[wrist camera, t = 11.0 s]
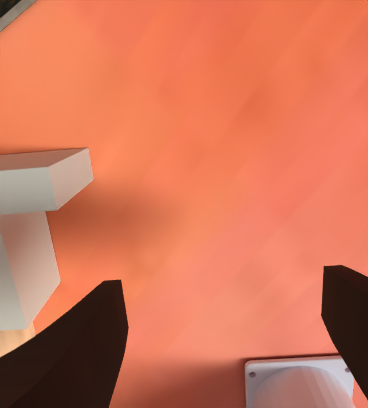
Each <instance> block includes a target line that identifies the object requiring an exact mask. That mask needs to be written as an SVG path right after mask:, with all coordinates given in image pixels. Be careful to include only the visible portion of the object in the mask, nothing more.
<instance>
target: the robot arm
mask: <svg viewBox="0 0 368 408" xmlns="http://www.w3.org/2000/svg"><path fill="white" fill-rule="evenodd" d="M321 316H322V319H323V321H324V324H325V326H326V328H327V331H328V333H329V335H330V337H331V340H332V342H333V343H334V345H335V347H336V349H337V350H338V352H339V354H340V355H341V356H323V357H305V358H287V359H269V360H251V361H248V362H246V364H245V391H246V408H355V406H354V404H353V402H352V395H353V384H354V378H355V380H356V382H357V383H358V385H359V387H360V388H361V390H362V392H363V393H364V395H365V396H366V398H367V400H368V277H367V276H365V275H363V274H361V273H358V272H356V271H354V270H352V269H350V268H348V267H345V266H343V265H336V266H324V273H323V293H322V312H321ZM128 328H129V327H128V321H127V315H126V308H125V302H124V296H123V289H122V283H121V280H108V281H103V282H102V283H101V284H99V285H98V286H97V287H96V288H95V289H93V290H92V291H91V292H90V293H89V294H88V295H87V296H85V297H84V298H83V299H82V300H81V301H80V302H78V303H77V304H76V305H75V306H74V307H72V308H71V309H70V310H69V311H68V312H66V313H65V314H64V315H63V316H61V317H60V318H59V319H57V320H56V321H55V322H54V323H52V324H51V325H50V326H48V327H47V328H46V329H44V330H43V331H42V332H40V333H39V334H37V335H36V336H34V337H33V338H31V339H30V340H28V341H27V342H25V343H24V344H22V345H20V346H19V347H17V348H16V349H14V350H12V351H10V352H9V353H7V354H5V355H3V356H1V357H0V408H109V405H110V401H111V398H112V395H113V391H114V388H115V385H116V381H117V378H118V374H119V371H120V368H121V364H122V361H123V357H124V353H125V348H126V342H127V335H128ZM346 367H348V368H346ZM251 372H254V373H252V374H251Z"/></svg>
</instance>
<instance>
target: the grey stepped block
mask: <svg viewBox="0 0 368 408" xmlns="http://www.w3.org/2000/svg"><path fill="white" fill-rule="evenodd" d="M93 180H94V178H93V172H92V166H91V160H90V154H89V149H88V148H79V149H67V150H55V151H43V152H30V153H18V154H6V155H0V331H4V330H21V329H27V328H28V327H29V326H30V324H31V323H32V321H33V320H34V319H35V317H36V316H37V314H38V313H39V311H40V310H41V309H42V307H43V306H44V304H45V303H46V302H47V300H48V299H49V297H50V296H51V295H52V293H53V292H54V290H55V289H56V287H57V286H58V285H59V283H60V282H61V280H60V275H59V271H58V266H57V262H56V257H55V253H54V248H53V244H52V239H51V235H50V230H49V226H48V221H47V217H46V212H45V211H55V210H58V209H59V208H61V207H62V206H63V205H64V204H65V203H67V202H68V201H69V200H70V199H71V198H73V197H74V196H75V195H76V194H77V193H78V192H80V191H81V190H82V189H83V188H84V187H86V186H87V185H88V184H89V183H90V182H92V181H93Z"/></svg>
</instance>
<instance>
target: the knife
mask: <svg viewBox="0 0 368 408" xmlns="http://www.w3.org/2000/svg"><path fill="white" fill-rule="evenodd" d="M35 1H36V0H0V31H1V30H3V29H4V28H5V27H6V26H7V25H8V24H10V23H11V22H12V21H13V20H14V19H15V18H17V17H18V16H19V15H20V14H21V13H22V12H23V11H25V10H26V9H27V8H28V7H29V6H30V5H32V4H33V3H34V2H35Z"/></svg>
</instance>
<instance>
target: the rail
mask: <svg viewBox="0 0 368 408" xmlns="http://www.w3.org/2000/svg"><path fill="white" fill-rule="evenodd" d="M34 336H36V333H35V330H34V326H33V322H32V323H31V324H30V326H29V327H28V328H27V329H21V330H4V331H0V357H1V356H3V355H5V354H7V353H9V352H10V351H12V350H14V349H16V348H17V347H19V346H20V345H22V344H24V343H25V342H27V341H28V340H30V339H31V338H33V337H34Z"/></svg>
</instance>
